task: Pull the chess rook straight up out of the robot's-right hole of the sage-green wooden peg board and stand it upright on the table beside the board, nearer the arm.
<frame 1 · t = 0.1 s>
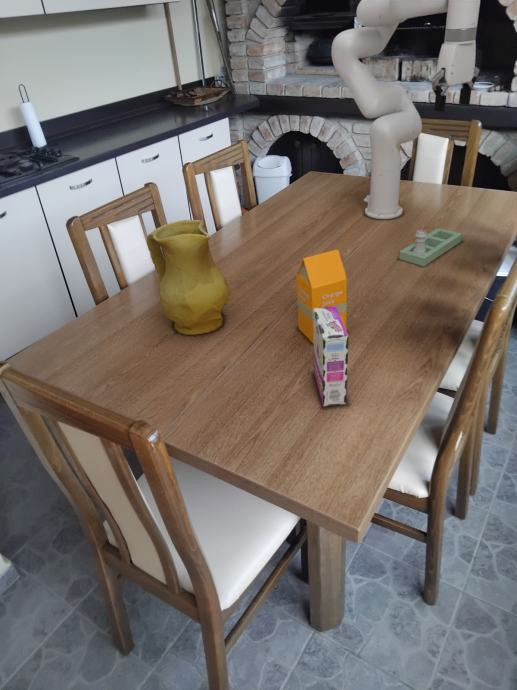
hand: (451, 107, 148), 37 cm above the table, tool pointing down, fingers open, 9 cm apart
orange juice: (322, 331, 128), on the table
candy bar box: (330, 389, 111), on the table
rook chess piece: (418, 258, 156), resting in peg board
pitcher: (197, 320, 137), on the table
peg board: (430, 250, 159), on the table
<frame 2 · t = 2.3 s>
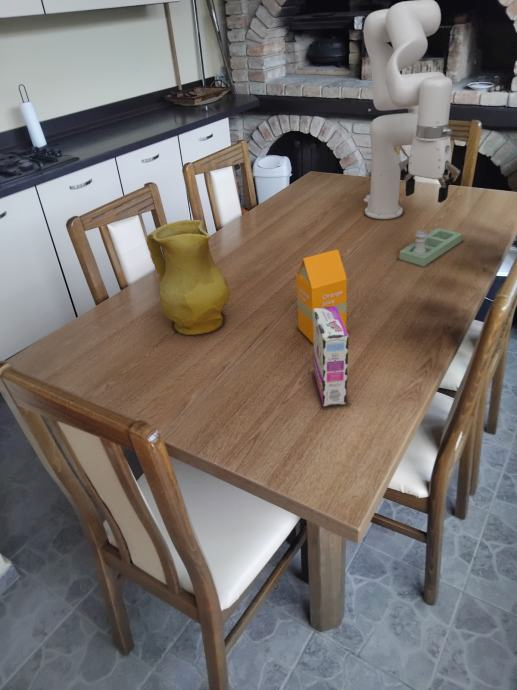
hand: (425, 197, 146), 18 cm above the table, tool pointing down, fingers open, 9 cm apart
nothing on the table moved.
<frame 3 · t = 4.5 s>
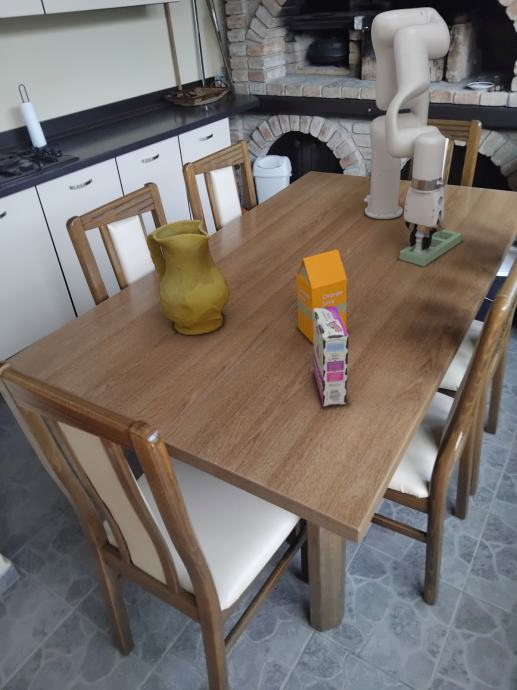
hand: (419, 246, 154), 4 cm above the table, tool pointing down, fingers closed on rook chess piece, 3 cm apart
rook chess piece: (418, 258, 156), resting in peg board, touching gripper
everything else where it was.
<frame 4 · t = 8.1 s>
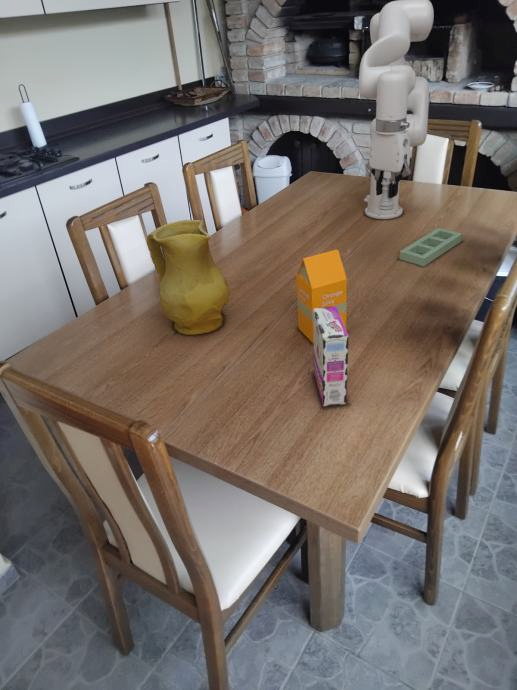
hand: (386, 194, 148), 18 cm above the table, tool pointing down, fingers closed on rook chess piece, 3 cm apart
rook chess piece: (386, 209, 150), point 14 cm above the table, touching gripper
everything else where it was.
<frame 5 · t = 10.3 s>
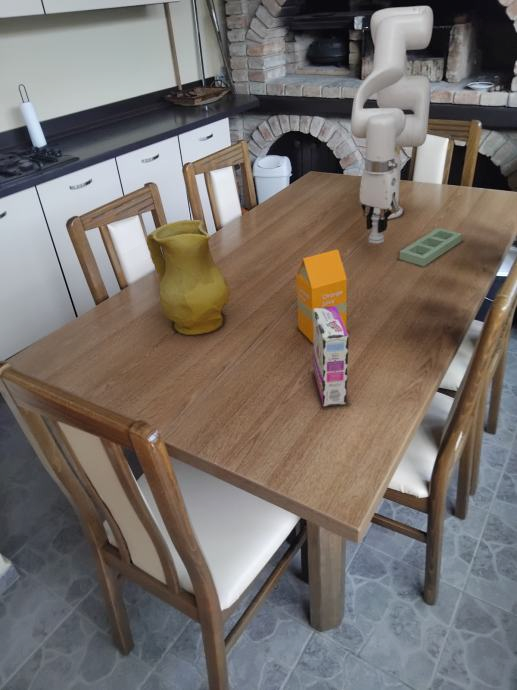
hand: (376, 229, 154), 8 cm above the table, tool pointing down, fingers closed on rook chess piece, 3 cm apart
rook chess piece: (376, 242, 156), point 4 cm above the table, touching gripper
everything else where it was.
when the fingers open (4 cm above the table, at t = 11.7 s): rook chess piece stays where it is, on the table.
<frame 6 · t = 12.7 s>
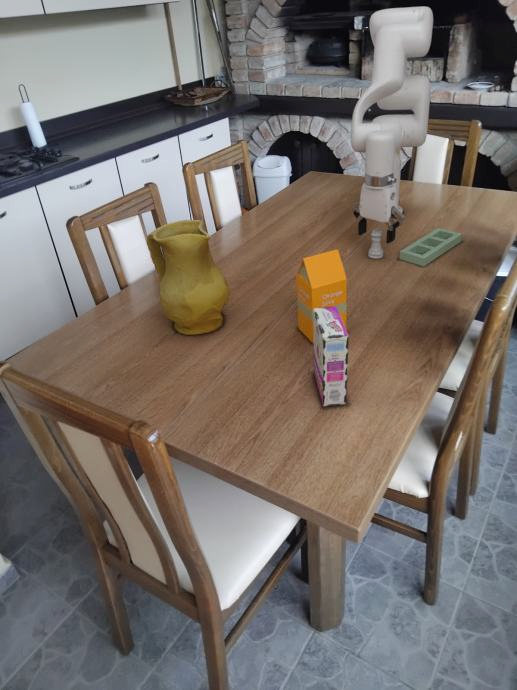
hand: (376, 237, 156), 6 cm above the table, tool pointing down, fingers open, 9 cm apart
rook chess piece: (375, 256, 159), on the table
everything else where it was.
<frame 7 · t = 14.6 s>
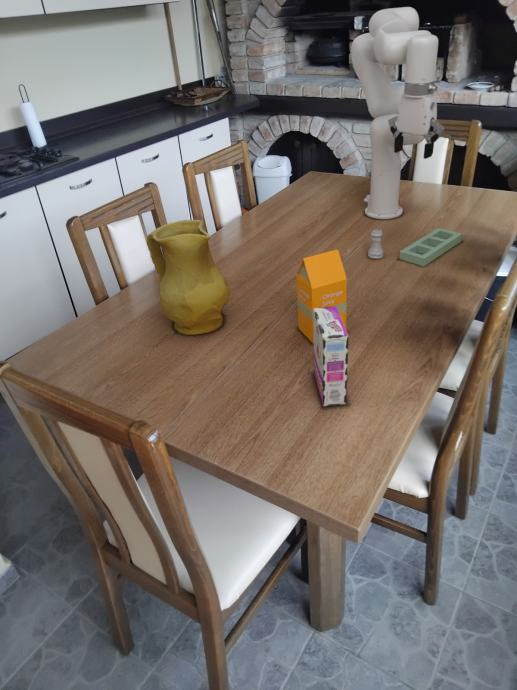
hand: (412, 154, 152), 26 cm above the table, tool pointing down, fingers open, 9 cm apart
nothing on the table moved.
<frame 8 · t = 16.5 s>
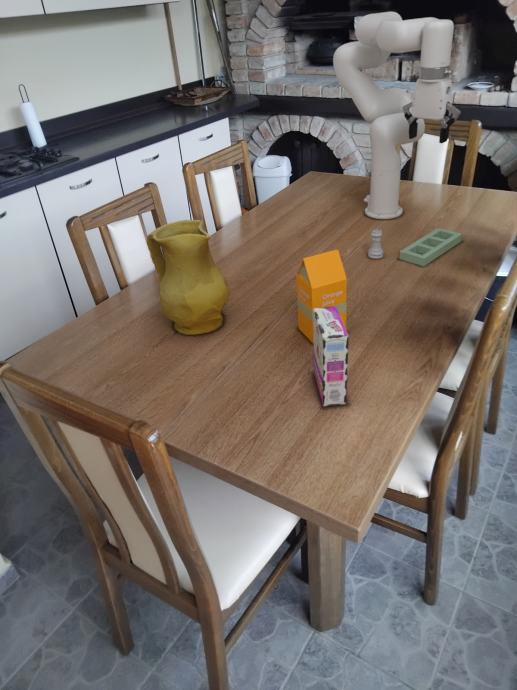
hand: (427, 140, 154), 28 cm above the table, tool pointing down, fingers open, 9 cm apart
nothing on the table moved.
at the end: rook chess piece inside the target area (0.4 cm from its centre), on the table; rook chess piece tilted 0°; the gripper is holding nothing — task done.
